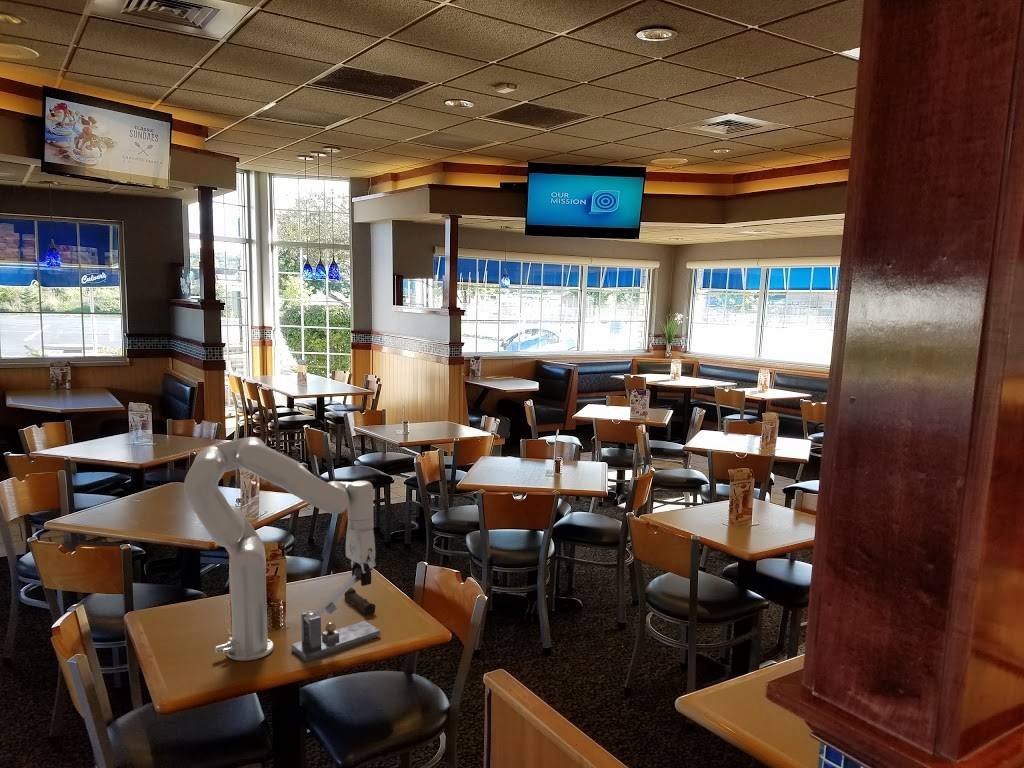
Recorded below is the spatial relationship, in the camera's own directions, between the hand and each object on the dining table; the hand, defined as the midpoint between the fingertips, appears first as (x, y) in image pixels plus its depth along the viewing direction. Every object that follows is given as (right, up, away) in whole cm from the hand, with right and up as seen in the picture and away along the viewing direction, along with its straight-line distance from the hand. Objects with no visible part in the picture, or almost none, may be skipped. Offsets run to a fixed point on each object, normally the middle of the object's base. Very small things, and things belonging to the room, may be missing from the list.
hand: (361, 581), depth 219 cm
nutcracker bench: (-7, -17, -5) cm, 19 cm away
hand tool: (-7, -15, +23) cm, 28 cm away
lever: (-5, -5, -4) cm, 8 cm away
